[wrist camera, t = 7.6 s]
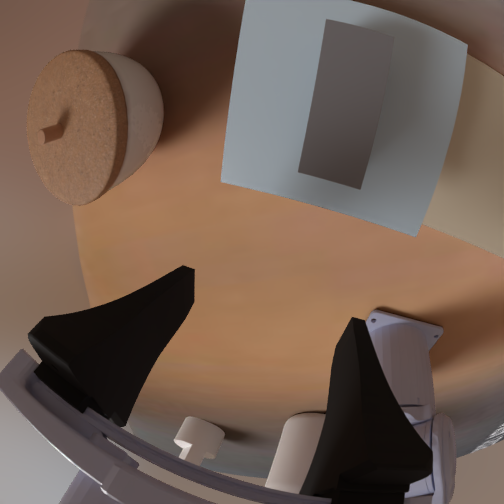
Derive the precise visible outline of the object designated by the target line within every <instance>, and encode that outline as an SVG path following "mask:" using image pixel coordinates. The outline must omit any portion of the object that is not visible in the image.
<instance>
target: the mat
mask: <svg viewBox="0 0 504 504" xmlns="http://www.w3.org/2000/svg"><path fill="white" fill-rule="evenodd" d="M422 225H425V226H428V227H430V228H433V229H436V230H438V231H441V232H443V233H446V234H448V235H451V236H453V237H456V238H458V239H461V240H463V241H465V242H468V243H470V244H472V245H475V246H477V247H479V248H482V249H484V250H486V251H488V252H491V253H493V254H495V255H497V256H499V257H501V258H504V76H503V75H501V74H500V73H498V72H497V71H495V70H493V69H492V68H490V67H489V66H487V65H486V64H484V63H482V62H481V61H479V60H477V59H476V58H474V57H472V56H470V55H468V54H467V57H466V65H465V73H464V79H463V85H462V91H461V96H460V102H459V106H458V111H457V116H456V120H455V124H454V128H453V132H452V136H451V140H450V143H449V147H448V151H447V154H446V157H445V161H444V164H443V167H442V170H441V173H440V176H439V179H438V182H437V185H436V188H435V191H434V193H433V196H432V199H431V202H430V204H429V207H428V209H427V212H426V214H425V217H424V219H423V222H422Z"/></svg>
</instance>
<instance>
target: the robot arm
mask: <svg viewBox="0 0 504 504" xmlns="http://www.w3.org/2000/svg"><path fill="white" fill-rule="evenodd" d="M194 281H195V269H192V268H189V267H186V266H181V267H179V268H177V269H175V270H174V271H172V272H170V273H168V274H166V275H165V276H163V277H161V278H159V279H158V280H156V281H154V282H152V283H150V284H149V285H147V286H145V287H143V288H141V289H139V290H137V291H135V292H133V293H131V294H129V295H126V296H124V297H122V298H120V299H117V300H114V301H112V302H109V303H107V304H104V305H100V306H97V307H94V308H91V309H87V310H83V311H79V312H75V313H69V314H64V315H56V316H48V317H44V318H43V319H42V320H41V321H40V322H39V323H38V324H37V325H36V326H35V327H34V328H33V329H32V330H31V331H30V332H29V333H28V339H29V341H30V343H31V345H32V346H33V348H34V349H35V351H36V352H37V354H38V355H39V357H40V358H41V360H42V362H41V363H40V364H38V363H37V362H36V361H35V360H34V359H33V358H32V357H31V356H30V355H29V354H28V353H27V352H26V351H25V350H24V349H21V350H20V351H19V352H18V353H17V354H16V355H15V356H14V358H13V359H12V360H11V361H10V362H9V363H8V364H7V366H6V367H5V368H4V369H3V370H2V372H1V373H0V390H1V391H2V392H3V393H4V395H5V396H6V397H7V398H8V399H9V401H10V402H11V403H12V404H13V405H14V406H15V408H16V409H17V410H18V411H19V412H20V413H21V414H22V416H23V417H24V418H25V419H26V420H27V421H28V422H29V423H30V424H31V425H32V426H33V427H34V428H35V429H36V430H37V432H38V433H40V434H41V436H43V437H44V438H45V439H46V440H47V441H48V442H49V443H50V444H51V445H52V446H53V447H54V448H55V449H56V450H57V451H59V452H60V453H61V454H62V455H63V456H64V457H65V458H67V459H68V460H69V461H70V462H71V463H73V464H74V465H75V466H76V467H78V468H79V469H80V471H79V472H78V474H77V475H76V477H75V479H74V480H73V482H72V483H71V485H70V487H69V488H68V490H67V491H66V493H65V495H64V496H63V498H62V500H61V501H60V503H59V504H216V503H213V502H210V501H207V500H205V499H202V498H199V497H197V496H194V495H192V494H189V493H187V492H184V491H182V490H180V489H177V488H175V487H172V486H170V485H168V484H166V483H164V482H162V481H160V480H157V479H155V478H153V477H151V476H149V475H147V474H145V473H143V472H141V471H139V470H137V468H138V466H139V463H138V462H136V461H135V460H133V459H132V458H131V457H129V456H128V455H127V453H126V452H125V451H123V450H122V449H120V448H119V447H117V446H116V445H114V444H113V443H111V442H109V441H108V440H107V438H109V439H110V440H112V441H114V442H115V443H117V444H119V445H120V446H122V447H124V448H125V449H127V450H129V451H131V452H132V453H134V454H136V455H138V456H140V457H142V458H144V459H145V460H147V461H149V462H151V463H153V464H155V465H157V466H159V467H161V468H163V469H166V470H168V471H170V472H172V473H174V474H177V475H179V476H181V477H184V478H186V479H188V480H191V481H193V482H196V483H198V484H201V485H204V486H206V487H209V488H212V489H215V490H218V491H221V492H224V493H227V494H230V495H233V496H237V497H240V498H244V499H247V500H251V501H255V502H259V503H264V504H449V502H450V501H451V499H452V496H453V493H454V487H455V473H456V443H455V434H454V428H453V424H452V421H451V418H450V417H448V416H446V415H445V414H444V413H439V414H437V415H436V410H435V397H434V387H433V378H432V371H431V364H430V357H429V350H430V349H431V348H432V347H433V345H434V344H435V343H436V342H437V340H438V339H439V338H440V336H441V335H442V334H443V332H444V331H443V328H442V327H440V326H436V325H432V324H429V323H425V322H421V321H417V320H413V319H410V318H406V317H402V316H399V315H395V314H391V313H387V312H384V311H380V310H374V311H372V312H371V313H370V315H369V317H368V319H367V320H366V322H365V320H362V319H358V318H354V317H352V318H351V320H350V322H349V323H348V325H347V327H346V329H345V331H344V333H343V334H342V336H341V338H340V340H339V342H338V343H337V345H336V348H335V353H334V357H333V362H332V367H331V377H330V386H329V395H328V403H327V410H326V416H325V420H324V424H323V428H322V431H321V435H320V438H319V442H318V445H317V448H316V451H315V454H314V457H313V460H312V463H311V465H310V468H309V471H308V473H307V476H306V478H305V481H304V483H303V485H302V487H301V490H300V492H299V494H295V493H290V492H285V491H280V490H276V489H271V488H267V487H263V486H259V485H255V484H252V483H248V482H244V481H241V480H238V479H234V478H231V477H228V476H225V475H222V474H219V473H216V472H214V471H211V470H208V469H205V468H203V467H200V466H198V465H195V464H193V463H190V462H188V461H185V460H183V459H181V458H179V457H176V456H174V455H172V454H170V453H168V452H165V451H163V450H161V449H159V448H157V447H155V446H153V445H151V444H149V443H147V442H145V441H143V440H142V439H140V438H138V437H136V436H134V435H132V434H131V433H129V432H127V431H125V430H124V429H122V428H120V427H124V426H126V423H127V421H128V418H129V416H130V413H131V411H132V408H133V406H134V404H135V402H136V399H137V397H138V395H139V393H140V391H141V389H142V387H143V385H144V383H145V381H146V379H147V377H148V375H149V373H150V371H151V369H152V367H153V365H154V364H155V362H156V360H157V358H158V357H159V355H160V354H161V352H162V351H163V349H164V348H165V347H166V345H167V344H168V343H169V341H170V340H171V338H172V337H173V336H174V334H175V333H176V331H177V330H178V329H179V327H180V326H181V324H182V323H183V322H184V320H185V319H186V317H187V315H188V313H189V311H190V309H191V307H192V305H193V303H194ZM372 319H375V320H372Z"/></svg>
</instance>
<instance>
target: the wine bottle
mask: <svg viewBox="0 0 504 504" xmlns="http://www.w3.org/2000/svg"><path fill="white" fill-rule="evenodd" d="M325 416H326V414H321V413H302V414H297V415H294V416H292V417H290V418H289V419H288V420H287V422H286V423H285V425H284V429H283V432H282V435H281V439H280V442H279V445H278V448H277V451H276V455H275V458H274V461H273V464H272V467H271V470H270V473H269V476H268V479H267V481H266V484H265V487H267V488H271V489H276V490H280V491H285V492H290V493H295V494H299V492H300V490H301V487H302V485H303V483H304V481H305V478H306V476H307V473H308V471H309V468H310V465H311V463H312V460H313V457H314V454H315V451H316V448H317V445H318V442H319V438H320V435H321V431H322V428H323V424H324V420H325Z"/></svg>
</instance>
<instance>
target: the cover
mask: <svg viewBox="0 0 504 504" xmlns="http://www.w3.org/2000/svg"><path fill="white" fill-rule="evenodd" d="M467 47H468V45H467V44H465V43H464V42H462V41H460V40H458V39H456V38H454V37H452V36H450V35H448V34H446V33H444V32H442V31H439V30H437V29H435V28H433V27H430V26H428V25H426V24H423V23H421V22H418V21H416V20H413V19H411V18H408V17H405V16H402V15H400V14H397V13H394V12H391V11H388V10H384V9H381V8H378V7H374V6H371V5H367V4H363V3H359V2H355V1H351V0H246V1H245V7H244V13H243V18H242V24H241V30H240V36H239V42H238V49H237V55H236V62H235V68H234V75H233V82H232V90H231V97H230V105H229V112H228V120H227V129H226V137H225V146H224V155H223V164H222V173H221V182H223V183H228V184H232V185H236V186H241V187H245V188H249V189H253V190H258V191H262V192H266V193H270V194H274V195H278V196H281V197H285V198H289V199H293V200H297V201H300V202H304V203H308V204H311V205H315V206H318V207H322V208H325V209H329V210H332V211H336V212H339V213H343V214H346V215H349V216H353V217H356V218H359V219H362V220H365V221H369V222H372V223H375V224H378V225H381V226H384V227H387V228H390V229H393V230H396V231H399V232H402V233H405V234H408V235H411V236H414V237H416V236H417V234H418V231H419V229H420V227H421V224H422V222H423V219H424V217H425V214H426V212H427V209H428V207H429V204H430V202H431V199H432V196H433V193H434V191H435V188H436V185H437V182H438V179H439V176H440V173H441V170H442V167H443V164H444V161H445V157H446V154H447V151H448V147H449V143H450V140H451V136H452V132H453V128H454V124H455V120H456V116H457V111H458V106H459V102H460V96H461V91H462V85H463V79H464V73H465V65H466V57H467Z"/></svg>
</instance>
